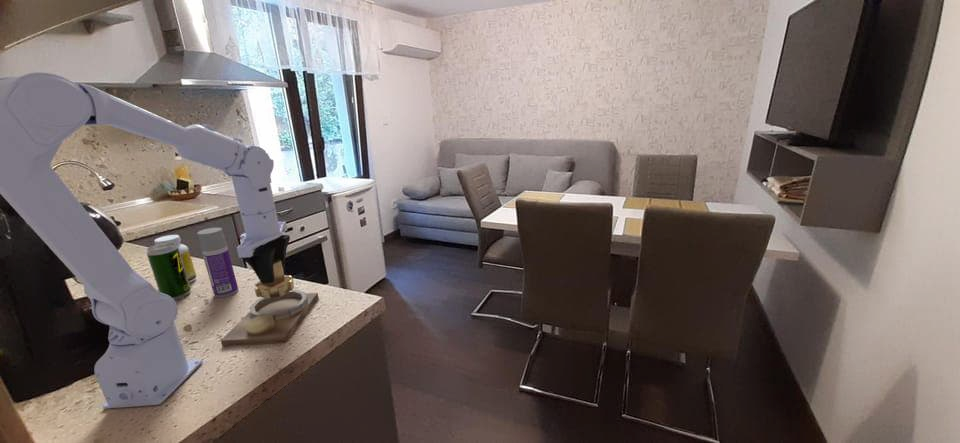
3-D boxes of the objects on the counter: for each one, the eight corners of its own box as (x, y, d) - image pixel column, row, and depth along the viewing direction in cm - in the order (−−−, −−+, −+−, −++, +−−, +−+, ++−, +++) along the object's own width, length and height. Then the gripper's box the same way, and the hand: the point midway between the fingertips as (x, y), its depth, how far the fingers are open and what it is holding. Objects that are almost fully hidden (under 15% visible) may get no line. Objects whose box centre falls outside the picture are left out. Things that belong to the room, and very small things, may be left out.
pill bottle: (201, 280, 91) (188, 236, 88) (170, 291, 86) (155, 244, 83) (190, 274, 95) (178, 231, 91) (159, 284, 90) (144, 239, 86)
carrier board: (285, 342, 66) (282, 329, 65) (222, 346, 65) (218, 333, 64) (318, 297, 81) (316, 286, 80) (267, 300, 80) (264, 289, 79)
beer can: (160, 304, 81) (143, 253, 77) (162, 294, 85) (146, 245, 81) (191, 296, 84) (176, 246, 80) (191, 287, 88) (177, 240, 84)
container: (243, 287, 87) (227, 227, 82) (228, 297, 82) (211, 234, 78) (224, 287, 87) (208, 227, 82) (209, 297, 83) (190, 234, 78)
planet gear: (285, 298, 71) (280, 269, 69) (249, 299, 70) (242, 271, 69) (299, 281, 77) (294, 255, 75) (266, 283, 77) (260, 256, 75)
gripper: (256, 202, 76) (270, 263, 80) (211, 224, 62) (231, 296, 66) (291, 200, 76) (303, 261, 80) (254, 222, 62) (271, 294, 66)
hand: (273, 277), depth 73 cm, fingers closed on planet gear, 4 cm apart
